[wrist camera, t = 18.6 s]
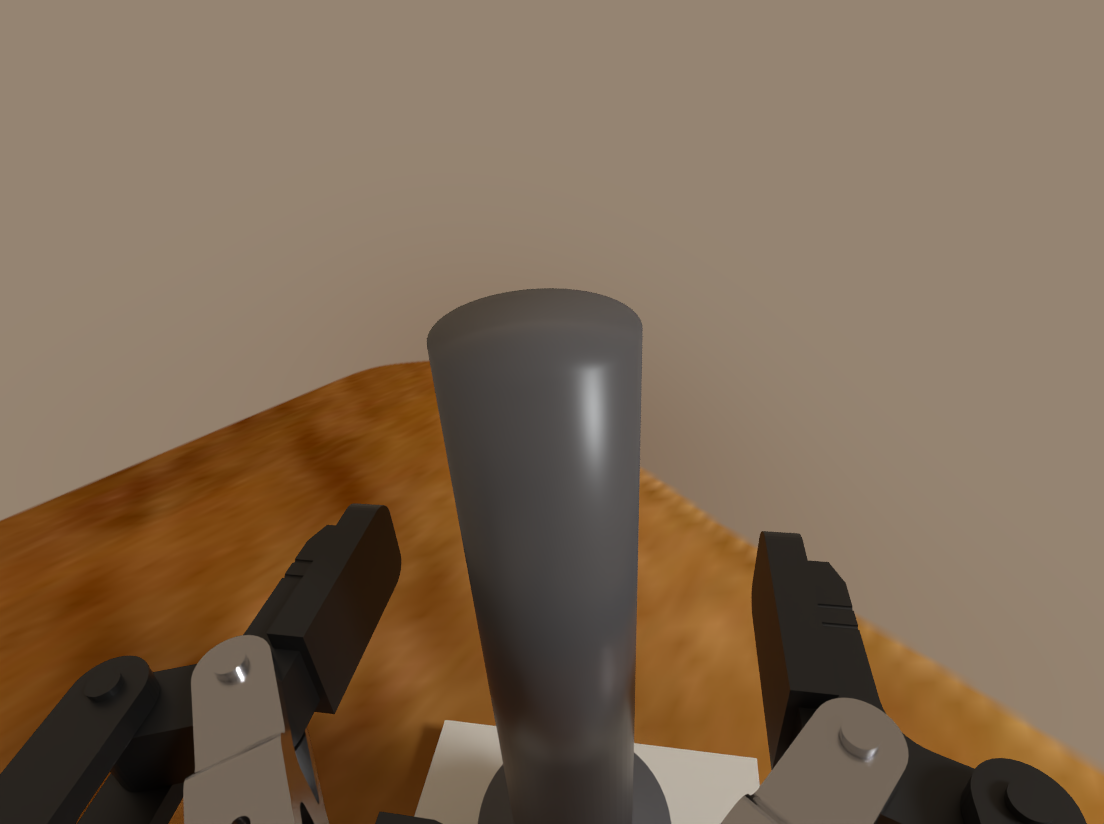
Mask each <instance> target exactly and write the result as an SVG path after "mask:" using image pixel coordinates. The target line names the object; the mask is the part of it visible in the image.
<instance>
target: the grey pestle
mask: <svg viewBox="0 0 1104 824" xmlns="http://www.w3.org/2000/svg"><path fill="white" fill-rule="evenodd" d="M427 349H428V354H429V360H430V365H431V371H432V376H433V382H434V387H435V393H436V398H437V403H438V409H439V414H440V420H441V425H442V431H443V436H444V442H445V447H446V453H447V458H448V464H449V469H450V475H451V480H452V486H453V491H454V497H455V502H456V508H457V513H458V519H459V524H460V530H461V535H462V541H463V546H464V552H465V557H466V563H467V568H468V574H469V579H470V585H471V590H472V596H473V601H474V607H475V612H476V618H477V623H478V629H479V634H480V640H481V645H482V651H483V656H484V662H485V667H486V673H487V678H488V684H489V689H490V695H491V700H492V706H493V711H494V717H495V722H496V728H497V733H498V739H499V744H500V750H501V755H502V761H503V764H502V766H501V767H500V768H499V770H498V771H497V772H496V774H495V775H494V777H493V779H492V780H491V782H490V784H489V786H488V788H487V790H486V793H485V795H484V798H483V801H482V804H481V808H480V813H479V818H478V824H671V819H670V813H669V808H668V805H667V802H666V798H665V796H664V793H663V791H662V789H661V786H660V784H659V783H658V781H657V779H656V777H655V776H654V774H653V773H652V771H651V770H650V769H649V767H648V766H647V765H646V763H645V762H644V761H643V760H642V759H641V758H640V757H639V756H638V755H637V754H635V753H634V716H635V667H636V619H637V570H638V522H639V473H640V425H641V424H640V423H641V376H642V374H641V373H642V323H641V320H640V318H639V317H638V315H637V314H636V313H635V312H634V311H633V310H632V309H631V308H629V307H628V306H626V305H625V304H623V303H621V302H619V301H617V300H615V299H612V298H610V297H607V296H603V295H600V294H596V293H592V292H587V291H580V290H571V289H554V288H552V289H551V288H549V289H527V290H519V291H512V292H506V293H501V294H496V295H492V296H488V297H485V298H481V299H478V300H475V301H473V302H470V303H467V304H465V305H463V306H460V307H458V308H456V309H455V310H453V311H451V312H449V313H448V314H446V315H445V316H443V317H442V318H441V319H440V320H439V321H437V323H436V324H435V325H434V326H433V327H432V329H431V330H430V332H429V334H428V338H427Z"/></svg>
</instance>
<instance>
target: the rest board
mask: <svg viewBox="0 0 1104 824" xmlns="http://www.w3.org/2000/svg"><path fill="white" fill-rule="evenodd" d="M634 753H635V754H637V755H638V756H639V757H640V758H641V759H642V760H643V761H644V762H645V763H646V765H647V766H648V767H649V769H650V770H651V771H652V773H653V774H654V776H655V777H656V779H657V781H658V783H659V784H660V786H661V789H662V791H663V793H664V796H665V798H666V802H667V805H668V808H669V813H670V819H671V824H721V822H722V821H723V820H724V818H725V817H726V816H727V814H728V813H729V812H730V810H731V809H732V808H733V807H734V805H735V804H736V803H737V802H738V801H739V800H740V799H741V798H742V797H743V796H744V795H746V794H749V795H752V794H754V793H755V792H756V791H757V790H758V788H759V787H760V785H759V775H758V766H757V758H749V757H741V756H733V755H725V754H717V753H709V752H701V751H692V750H684V749H676V748H668V747H660V746H652V745H644V744H636V743H634ZM502 764H503V761H502V755H501V750H500V744H499V739H498V733H497V728H496V726H490V725H482V724H474V723H466V722H458V721H450V720H445V722H444V725H443V728H442V731H441V735H440V738H439V741H438V744H437V747H436V750H435V753H434V756H433V760H432V763H431V766H430V769H429V772H428V775H427V778H426V781H425V784H424V788H423V791H422V794H421V797H420V800H419V803H418V806H417V809H416V812H415V816H414V817H420V818H426V819H433V820H436V821H438V822H440V823H442V824H478V818H479V813H480V808H481V804H482V801H483V798H484V795H485V793H486V790H487V788H488V786H489V784H490V782H491V780H492V779H493V777H494V775H495V774H496V772H497V771H498V770H499V768H500V767H501V766H502Z"/></svg>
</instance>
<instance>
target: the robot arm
mask: <svg viewBox="0 0 1104 824" xmlns="http://www.w3.org/2000/svg"><path fill="white" fill-rule="evenodd" d="M400 570H401V554H400V550H399V546H398V542H397V538H396V534H395V531H394V527H393V523H392V519H391V515H390V512H389V509H388V508H387V507H386V506H384V505H369V504H351V505H350V506H349V507H348V508H347V509H346V511H345V512H344V514H343V515H342V517H341V519H340V520H339V522H338V523H337V525H336V526H335V525H327V526H325V527H324V528H323V529H322V530H320V531H319V532H318V533H317V534H315V535H314V536H313V537H312V538H310V539H309V540H308V541H307V542H306V544H305V545H304V547H303V548H302V550H301V551H300V553H299V554H298V556H297V557H296V558H295V563H292V564H291V566H290V567H289V569H288V570H287V572H286V573H285V577H284V578H282V579H281V581H280V582H279V583H278V585H277V586H276V588H275V589H274V591H273V592H272V594H271V595H270V597H269V598H268V600H267V601H266V603H265V604H264V605H263V607H262V608H261V610H260V611H259V613H258V614H257V616H256V617H255V619H254V620H253V622H252V623H251V625H250V626H249V628H248V629H247V630H246V632H245V633H244V634H243V636H238V637H234V638H231V639H228V640H226V641H224V642H222V643H220V644H218V645H217V646H215V647H214V648H212V649H211V650H210V651H209V652H207V653H206V654H205V655H204V656H203V657H202V659H201V660H200V661H199V662H198V664H194V665H189V666H184V667H178V668H173V669H168V670H163V671H157V672H152V671H151V669H150V668H149V666H148V664H147V663H146V662H145V660H143V659H142V658H139V657H137V656H121V657H117V658H113V659H110V660H108V661H105V662H103V663H101V664H99V665H97V666H96V667H94V668H92V669H91V670H89V671H88V672H87V673H85V674H84V675H83V676H82V677H81V678H79V679H78V680H77V681H76V682H75V684H74V685H73V686H72V687H71V688H70V689H69V691H68V692H67V693H66V694H65V695H64V697H63V698H62V699H61V700H60V702H59V703H58V704H57V705H56V707H55V708H54V709H53V710H52V711H51V713H50V714H49V715H48V716H47V718H46V719H45V720H44V721H43V722H42V724H41V725H40V726H39V727H38V729H37V730H36V731H35V732H34V734H33V735H32V736H31V737H30V738H29V740H28V741H27V742H26V743H25V745H24V746H23V747H22V748H21V749H20V751H19V752H18V753H17V754H16V756H15V757H14V758H13V759H12V761H11V762H10V763H9V764H8V765H7V767H6V768H5V769H4V770H3V772H2V773H1V774H0V824H76V823H77V820H78V818H79V817H80V815H81V813H82V812H83V810H84V809H85V807H86V806H87V804H88V803H89V801H90V800H91V798H92V797H93V795H94V794H95V793H96V791H97V790H98V788H99V787H100V785H101V784H102V782H103V781H104V779H105V778H106V776H107V775H108V773H109V772H111V774H110V776H109V777H108V779H107V780H106V781H105V783H104V784H103V786H102V787H101V789H100V790H99V792H98V793H97V795H96V796H95V798H94V799H93V801H92V802H91V804H90V805H89V807H88V808H87V810H86V811H85V813H84V814H83V816H82V817H81V819H80V820H79V822H78V823H77V824H168V823H169V821H170V820H171V818H172V816H173V814H174V812H175V811H176V809H177V807H178V805H179V804H180V802H181V800H182V798H183V799H184V824H329V821H328V818H327V814H326V810H325V806H324V801H323V796H322V792H321V787H320V782H319V778H318V773H317V768H316V764H315V759H314V754H313V750H312V745H311V740H310V736H309V732H308V729H307V725H308V723H309V721H310V719H311V717H312V715H313V713H314V712H322V713H330V714H335V712H336V710H337V708H338V706H339V704H340V701H341V699H342V697H343V695H344V693H345V691H346V689H347V687H348V685H349V683H350V681H351V678H352V676H353V674H354V672H355V670H356V668H357V666H358V664H359V662H360V660H361V658H362V655H363V653H364V651H365V649H366V647H367V645H368V643H369V641H370V639H371V637H372V634H373V632H374V630H375V628H376V626H377V624H378V622H379V620H380V618H381V616H382V614H383V611H384V609H385V607H386V605H387V603H388V601H389V599H390V597H391V595H392V593H393V591H394V588H395V586H396V584H397V582H398V579H399V575H400ZM752 616H753V624H754V632H755V640H756V648H757V656H758V664H759V672H760V680H761V689H762V697H763V705H764V713H765V721H766V729H767V737H768V745H769V753H770V761H771V769H772V771H771V772H770V774H769V775H768V776H767V778H766V779H765V780H764V782H763V783H762V784H761V786H760V787H759V788H758V790H757V791H756V792H755V793H754V794H752V795H749V794H746V795H744V796H743V797H742V798H741V799H740V800H739V801H738V802H737V803H736V804H735V805H734V807H733V808H732V809H731V810H730V812H729V813H728V814H727V816H726V817H725V818H724V820H723V821H722V822H721V824H1087V823H1086V821H1085V819H1084V816H1083V814H1082V813H1081V811H1080V809H1079V807H1078V806H1077V804H1076V803H1075V801H1074V800H1073V799H1072V797H1071V796H1070V795H1069V794H1068V793H1067V792H1066V791H1065V790H1064V789H1063V788H1062V787H1061V786H1060V785H1059V784H1058V783H1057V782H1056V781H1054V780H1053V779H1052V778H1050V777H1049V776H1048V775H1046V774H1045V773H1043V772H1041V771H1040V770H1038V769H1036V768H1034V767H1032V766H1030V765H1028V764H1025V763H1022V762H1020V761H1016V760H1012V759H1004V758H996V759H990V760H986V761H984V762H982V763H981V764H979V765H978V766H977V767H976V768H975V769H974V768H971V767H969V766H966V765H964V764H961V763H959V762H956V761H954V760H951V759H949V758H946V757H944V756H941V755H939V754H936V753H934V752H932V751H929V750H927V749H925V748H923V747H921V746H920V745H918V744H916V743H915V742H913V741H912V740H911V739H909V738H908V737H906V736H905V735H904V734H903V733H902V732H901V731H900V729H899V727H898V726H897V725H896V724H895V723H894V721H893V720H892V719H891V718H890V717H889V716H887V715H886V713H885V711H884V709H883V707H882V705H881V702H880V700H879V696H878V693H877V689H876V686H875V683H874V679H873V676H872V672H871V669H870V665H869V662H868V658H867V655H866V652H865V648H864V645H863V641H862V638H861V634H860V631H859V630H858V624H857V621H856V617H855V614H854V611H852V603H851V600H850V597H849V593H848V590H847V586H846V583H845V582H844V581H843V579H842V578H841V577H840V576H839V575H838V573H837V572H836V571H835V570H834V568H833V567H832V566H831V565H830V563H829V562H819V561H807V556H806V552H805V548H804V544H803V540H802V537H801V535H800V534H797V533H781V532H766V531H762V532H761V534H760V538H759V544H758V551H757V557H756V564H755V570H754V577H753V583H752ZM375 824H442V823H440V822H438V821H436V820H433V819H426V818H420V817H413V816H406V815H400V814H393V813H386V812H379V815H378V818H377V820H376V823H375Z"/></svg>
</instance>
